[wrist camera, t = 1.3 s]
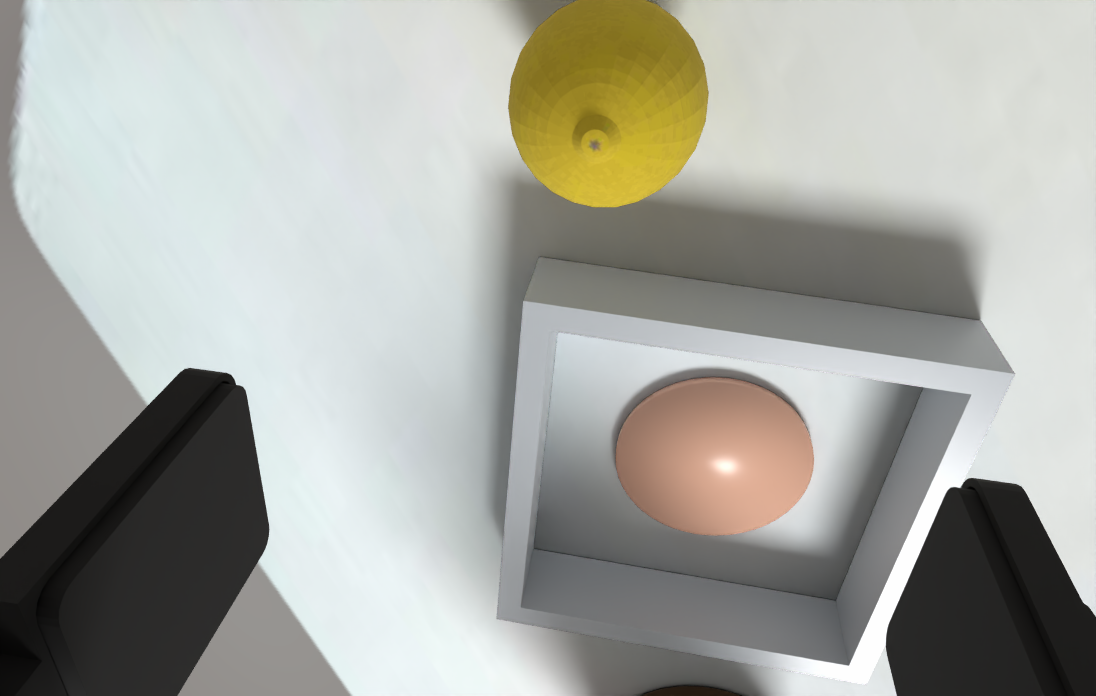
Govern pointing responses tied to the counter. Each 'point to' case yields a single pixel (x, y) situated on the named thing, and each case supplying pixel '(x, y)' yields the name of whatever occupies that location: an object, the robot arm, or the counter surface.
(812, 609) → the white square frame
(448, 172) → the counter surface
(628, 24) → the lemon
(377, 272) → the counter surface
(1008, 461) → the counter surface
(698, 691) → the brown glass bottle
